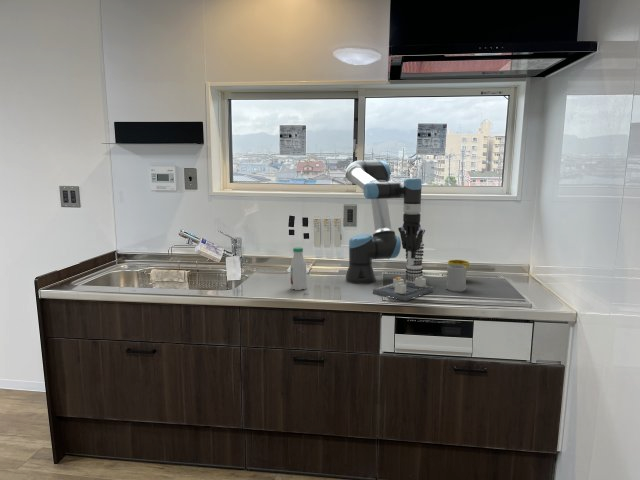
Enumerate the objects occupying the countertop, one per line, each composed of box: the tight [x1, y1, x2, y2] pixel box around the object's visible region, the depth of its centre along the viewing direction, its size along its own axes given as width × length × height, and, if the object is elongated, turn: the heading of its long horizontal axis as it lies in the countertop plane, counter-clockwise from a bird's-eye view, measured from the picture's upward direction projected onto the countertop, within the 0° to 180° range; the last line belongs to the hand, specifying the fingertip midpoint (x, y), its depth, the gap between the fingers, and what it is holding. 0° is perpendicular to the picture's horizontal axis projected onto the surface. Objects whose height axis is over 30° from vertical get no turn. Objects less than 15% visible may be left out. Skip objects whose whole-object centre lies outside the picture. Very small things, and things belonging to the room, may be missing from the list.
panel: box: [372, 280, 434, 302], centre depth 206 cm, size 18×22×2 cm
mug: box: [446, 265, 467, 292], centre depth 211 cm, size 12×8×11 cm
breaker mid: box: [392, 276, 405, 287], centre depth 207 cm, size 4×3×4 cm
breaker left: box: [395, 282, 406, 294], centre depth 197 cm, size 4×3×4 cm
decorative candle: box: [405, 232, 425, 283], centre depth 224 cm, size 9×9×25 cm
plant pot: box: [447, 259, 470, 274], centre depth 227 cm, size 10×10×10 cm
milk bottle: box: [290, 246, 308, 291], centre depth 214 cm, size 8×8×20 cm
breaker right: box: [415, 275, 427, 287], centre depth 208 cm, size 4×3×4 cm
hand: (410, 264), depth 202 cm, fingers closed
